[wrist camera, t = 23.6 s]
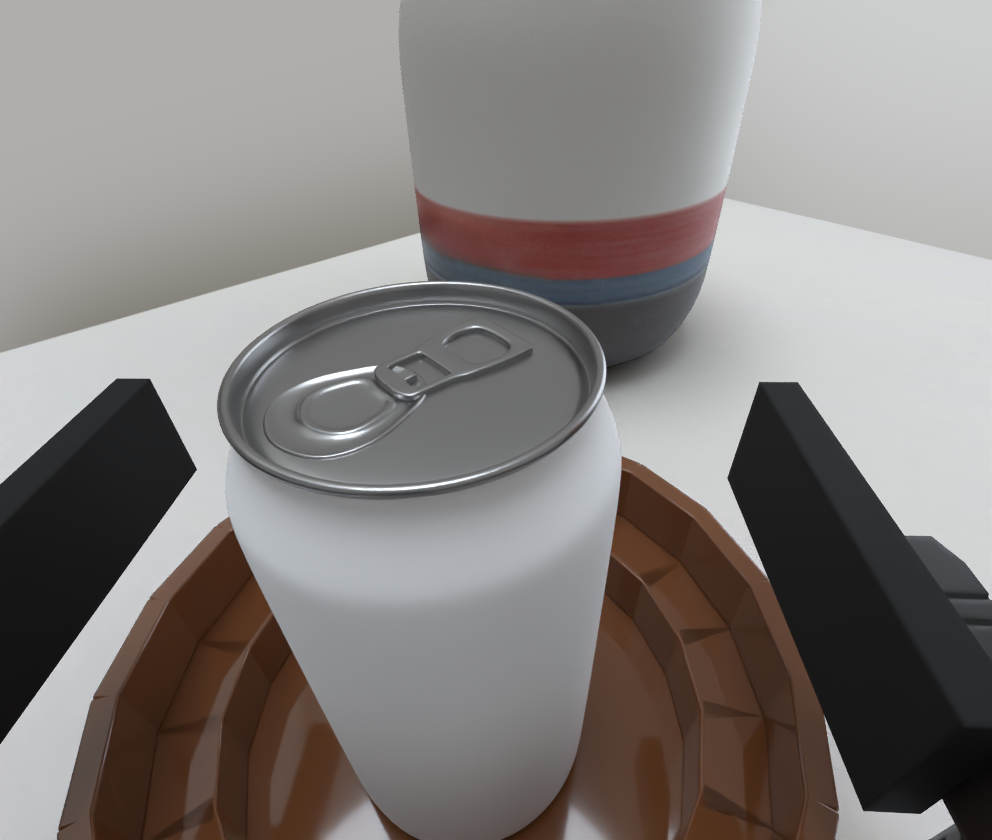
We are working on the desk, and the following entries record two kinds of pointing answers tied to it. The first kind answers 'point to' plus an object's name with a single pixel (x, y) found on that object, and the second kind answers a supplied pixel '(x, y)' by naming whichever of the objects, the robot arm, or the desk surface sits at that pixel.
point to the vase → (577, 149)
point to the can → (433, 536)
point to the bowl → (604, 736)
